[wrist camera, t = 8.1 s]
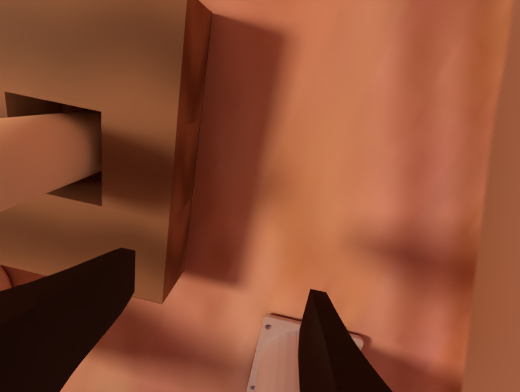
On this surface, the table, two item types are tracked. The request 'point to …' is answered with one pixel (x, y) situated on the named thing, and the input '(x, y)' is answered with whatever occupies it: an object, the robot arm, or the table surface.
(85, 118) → the cream peg
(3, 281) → the milk bottle
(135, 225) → the walnut holder
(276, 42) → the table surface
